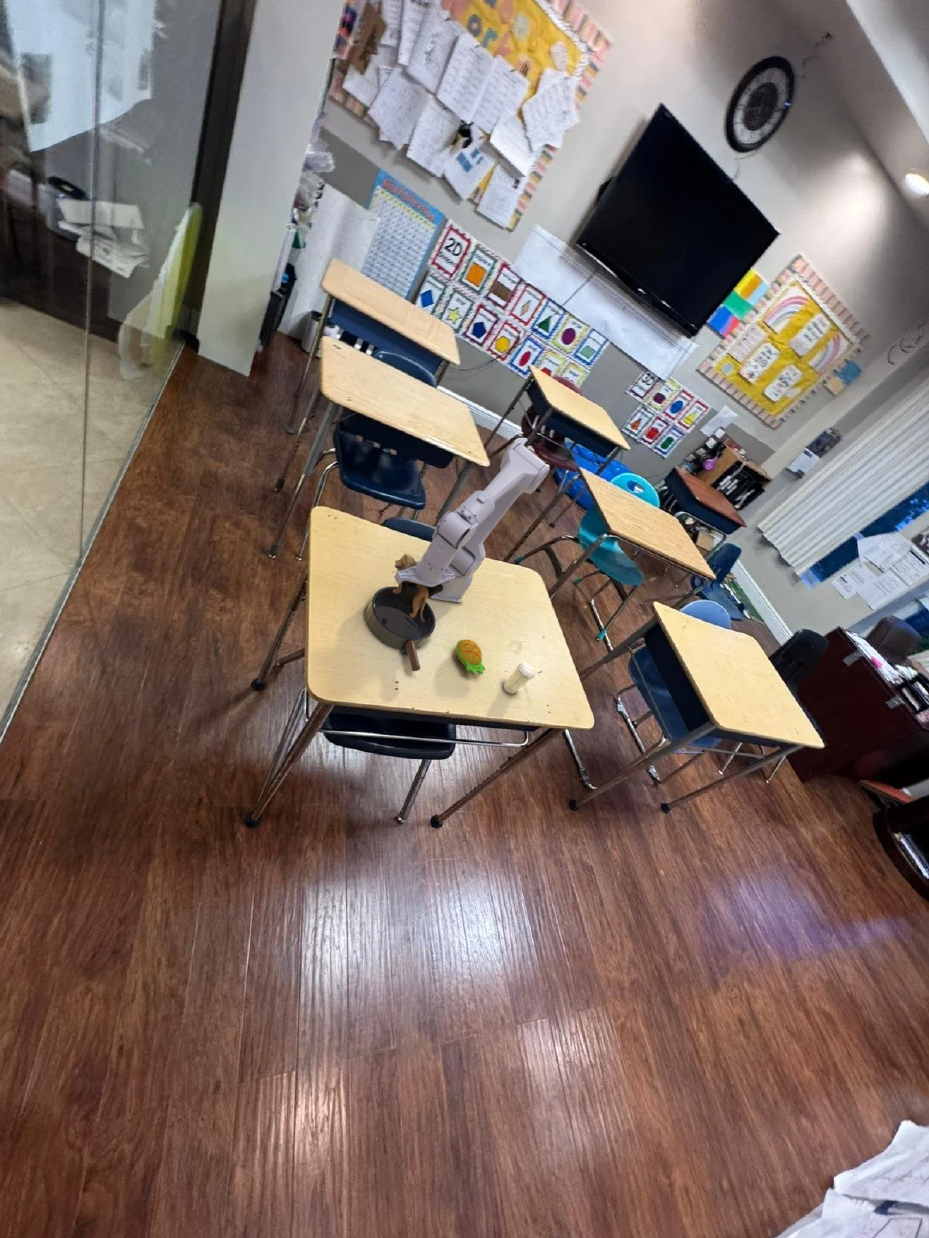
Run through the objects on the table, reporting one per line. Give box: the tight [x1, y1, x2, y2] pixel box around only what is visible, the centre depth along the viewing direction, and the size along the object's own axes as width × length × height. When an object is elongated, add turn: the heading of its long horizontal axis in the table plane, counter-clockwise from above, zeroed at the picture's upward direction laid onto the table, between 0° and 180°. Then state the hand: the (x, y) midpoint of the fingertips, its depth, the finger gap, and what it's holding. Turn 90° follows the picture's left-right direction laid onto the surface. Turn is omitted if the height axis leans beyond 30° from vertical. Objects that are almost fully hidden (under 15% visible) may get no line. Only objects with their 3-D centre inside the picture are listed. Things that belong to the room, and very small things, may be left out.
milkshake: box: [503, 661, 543, 695], centre depth 124 cm, size 4×5×10 cm
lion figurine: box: [393, 553, 429, 622], centre depth 117 cm, size 15×5×9 cm, turn 41°
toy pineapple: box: [455, 638, 486, 675], centre depth 124 cm, size 7×10×5 cm
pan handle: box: [400, 641, 421, 672], centre depth 115 cm, size 7×2×4 cm, turn 17°
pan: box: [365, 585, 437, 650], centre depth 122 cm, size 16×16×4 cm
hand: (410, 601), depth 119 cm, fingers closed on lion figurine, 4 cm apart
